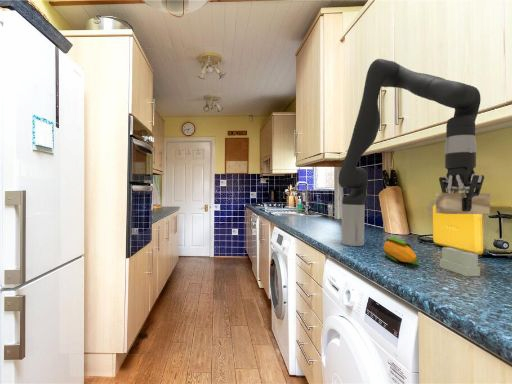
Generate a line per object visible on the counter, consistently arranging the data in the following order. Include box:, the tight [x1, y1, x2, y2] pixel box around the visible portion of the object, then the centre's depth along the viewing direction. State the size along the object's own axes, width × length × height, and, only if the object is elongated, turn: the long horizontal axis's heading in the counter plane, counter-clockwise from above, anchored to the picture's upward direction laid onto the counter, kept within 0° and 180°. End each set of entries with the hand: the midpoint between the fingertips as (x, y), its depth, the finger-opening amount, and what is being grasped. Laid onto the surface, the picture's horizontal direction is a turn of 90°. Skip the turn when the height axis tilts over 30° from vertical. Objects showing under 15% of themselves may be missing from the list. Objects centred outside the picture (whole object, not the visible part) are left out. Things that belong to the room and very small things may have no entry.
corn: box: [383, 237, 420, 265], centre depth 98 cm, size 7×8×20 cm
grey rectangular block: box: [439, 247, 481, 277], centre depth 87 cm, size 10×4×6 cm, turn 9°
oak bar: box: [435, 192, 491, 215], centre depth 87 cm, size 4×14×6 cm, turn 97°
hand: (459, 210), depth 87 cm, fingers closed on oak bar, 4 cm apart
